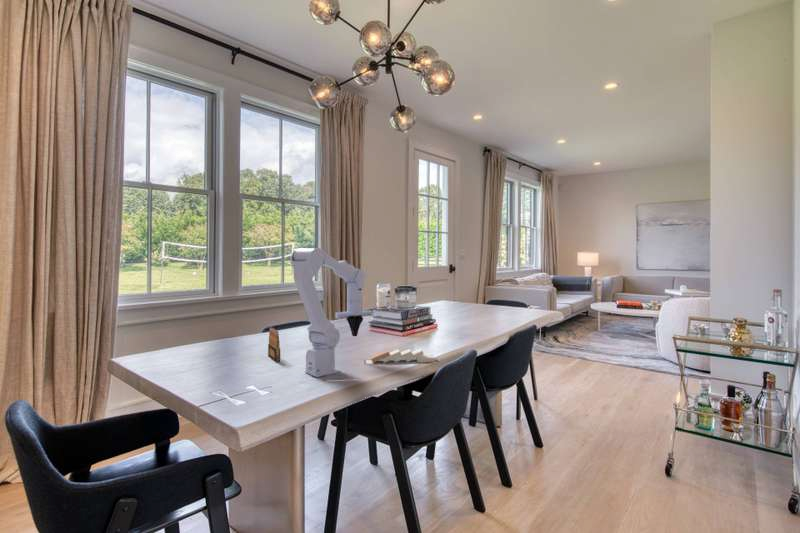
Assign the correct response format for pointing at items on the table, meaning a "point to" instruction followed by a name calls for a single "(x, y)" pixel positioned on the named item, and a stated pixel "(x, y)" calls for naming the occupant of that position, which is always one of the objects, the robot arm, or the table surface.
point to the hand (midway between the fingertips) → (354, 335)
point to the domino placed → (379, 356)
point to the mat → (389, 362)
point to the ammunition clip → (274, 345)
